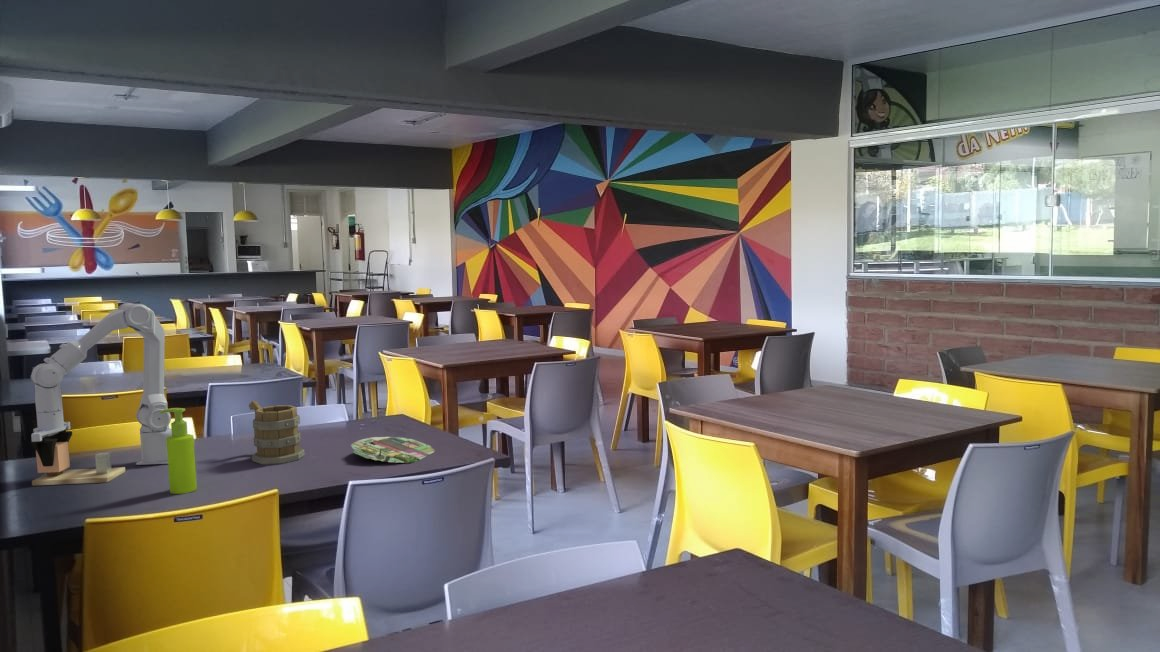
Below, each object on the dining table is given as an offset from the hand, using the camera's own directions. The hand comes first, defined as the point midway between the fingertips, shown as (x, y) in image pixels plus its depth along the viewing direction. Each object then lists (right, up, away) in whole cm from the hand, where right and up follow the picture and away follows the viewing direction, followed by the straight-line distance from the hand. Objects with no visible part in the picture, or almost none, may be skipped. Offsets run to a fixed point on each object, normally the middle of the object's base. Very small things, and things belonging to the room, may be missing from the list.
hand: (54, 463), depth 213 cm
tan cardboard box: (0, -2, 0) cm, 2 cm away
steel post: (+12, -3, +1) cm, 12 cm away
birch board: (+6, -4, +1) cm, 7 cm away
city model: (+83, -1, +18) cm, 85 cm away
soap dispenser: (+38, -5, -12) cm, 41 cm away
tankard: (+49, -2, +20) cm, 52 cm away
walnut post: (0, -3, 0) cm, 3 cm away
